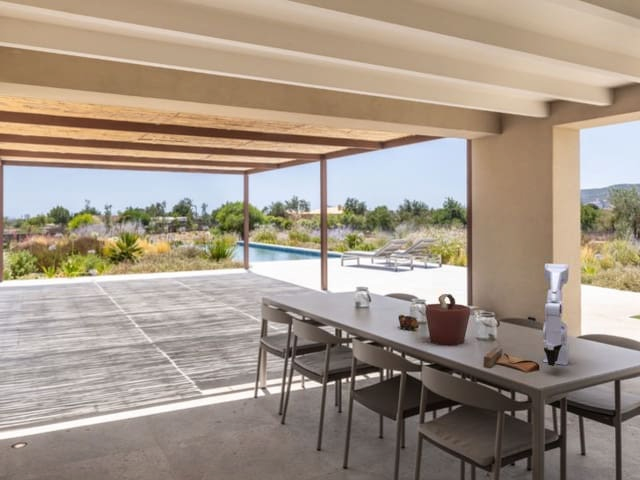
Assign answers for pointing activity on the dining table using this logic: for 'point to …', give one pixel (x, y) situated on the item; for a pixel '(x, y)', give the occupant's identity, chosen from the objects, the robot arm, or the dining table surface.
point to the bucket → (447, 321)
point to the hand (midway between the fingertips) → (552, 363)
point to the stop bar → (492, 357)
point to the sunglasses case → (518, 363)
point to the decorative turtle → (407, 322)
